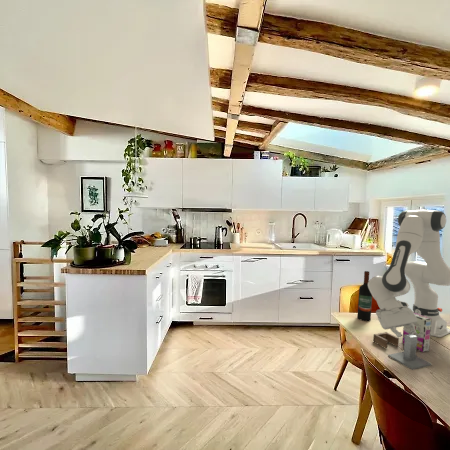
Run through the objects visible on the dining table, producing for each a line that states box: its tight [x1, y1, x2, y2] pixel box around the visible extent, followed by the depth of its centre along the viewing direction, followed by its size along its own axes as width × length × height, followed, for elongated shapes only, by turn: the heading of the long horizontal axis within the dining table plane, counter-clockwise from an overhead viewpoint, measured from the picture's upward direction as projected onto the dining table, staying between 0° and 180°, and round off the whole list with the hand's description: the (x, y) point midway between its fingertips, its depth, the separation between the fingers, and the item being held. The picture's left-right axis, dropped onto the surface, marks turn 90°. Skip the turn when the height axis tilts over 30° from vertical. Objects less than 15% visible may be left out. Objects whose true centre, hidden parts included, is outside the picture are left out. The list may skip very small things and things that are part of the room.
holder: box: [372, 331, 400, 349], centre depth 154 cm, size 9×7×4 cm
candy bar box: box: [401, 313, 432, 353], centre depth 151 cm, size 11×5×16 cm, turn 23°
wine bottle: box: [356, 270, 373, 322], centre depth 187 cm, size 8×8×30 cm
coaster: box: [387, 351, 432, 370], centre depth 138 cm, size 12×12×1 cm
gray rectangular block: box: [403, 334, 417, 361], centre depth 137 cm, size 4×3×11 cm
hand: (407, 335), depth 139 cm, fingers open, 8 cm apart
